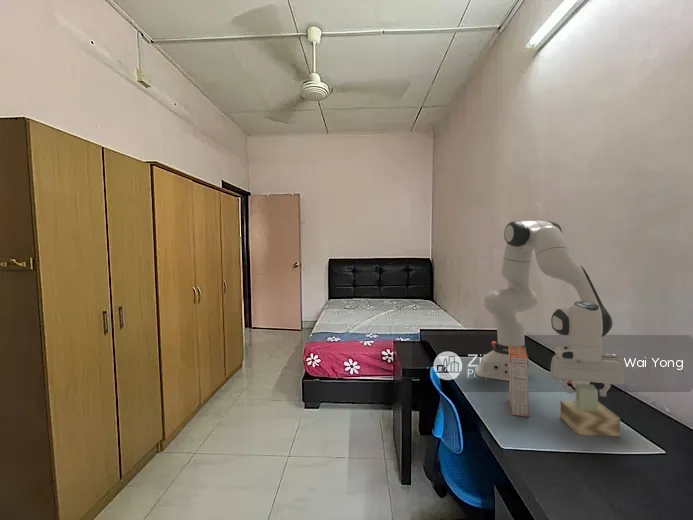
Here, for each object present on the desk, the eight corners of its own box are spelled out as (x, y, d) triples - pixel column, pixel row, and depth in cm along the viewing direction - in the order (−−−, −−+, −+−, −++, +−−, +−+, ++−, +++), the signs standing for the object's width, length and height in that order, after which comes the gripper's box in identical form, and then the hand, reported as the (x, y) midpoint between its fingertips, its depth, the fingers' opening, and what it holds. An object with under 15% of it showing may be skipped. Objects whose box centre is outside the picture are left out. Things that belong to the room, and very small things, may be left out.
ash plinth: (578, 435, 116) (578, 416, 116) (560, 417, 128) (560, 400, 128) (619, 437, 115) (620, 418, 114) (598, 418, 127) (598, 401, 126)
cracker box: (508, 399, 143) (508, 345, 142) (525, 401, 141) (525, 346, 140) (510, 415, 130) (509, 356, 129) (529, 417, 128) (529, 357, 127)
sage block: (579, 410, 120) (579, 388, 120) (575, 403, 125) (575, 383, 125) (597, 412, 119) (597, 390, 118) (593, 405, 123) (593, 384, 123)
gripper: (620, 351, 121) (620, 394, 121) (549, 347, 127) (549, 387, 128) (628, 357, 115) (627, 402, 115) (553, 352, 121) (552, 394, 122)
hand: (585, 394), depth 122 cm, fingers open, 8 cm apart
